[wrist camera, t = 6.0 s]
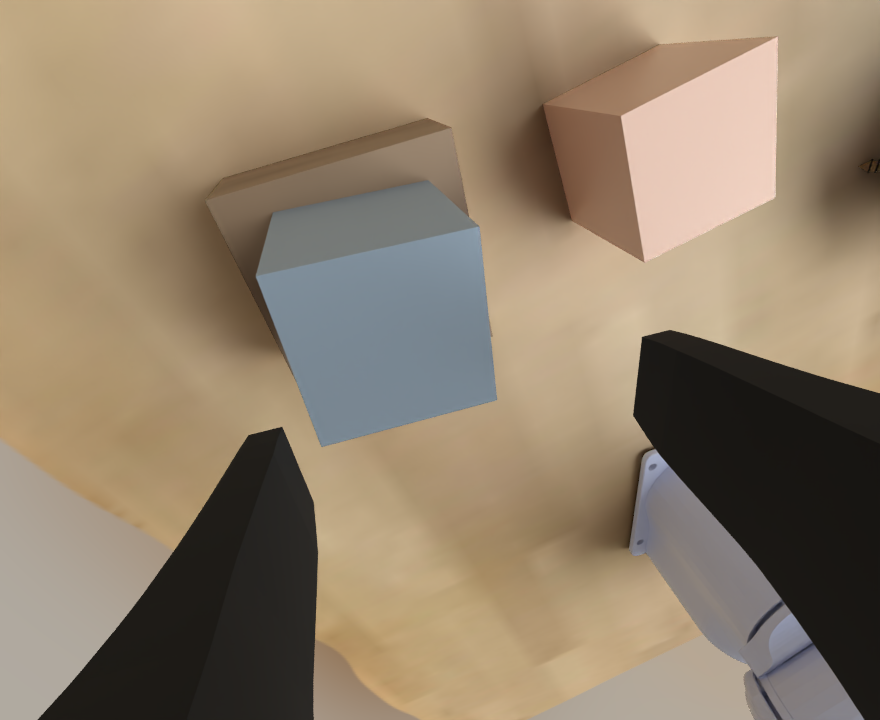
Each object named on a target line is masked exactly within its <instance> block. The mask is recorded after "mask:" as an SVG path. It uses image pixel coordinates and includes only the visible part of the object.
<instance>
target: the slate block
mask: <svg viewBox="0 0 880 720" xmlns="http://www.w3.org/2000/svg"><path fill="white" fill-rule="evenodd" d="M256 278H257V281H258V283H259V286H260V289H261V291H262V294H263V296H264V299H265V302H266V304H267V307H268V309H269V312H270V315H271V317H272V320H273V322H274V325H275V328H276V330H277V333H278V335H279V338H280V340H281V343H282V346H283V348H284V351H285V353H286V356H287V359H288V361H289V364H290V366H291V369H292V372H293V374H294V377H295V379H296V382H297V385H298V387H299V390H300V392H301V395H302V398H303V400H304V403H305V405H306V408H307V411H308V413H309V416H310V418H311V421H312V423H313V426H314V429H315V431H316V434H317V436H318V439H319V442H320V444H321V447H324V446H327V445H331V444H335V443H339V442H342V441H346V440H350V439H354V438H357V437H361V436H365V435H368V434H372V433H376V432H380V431H383V430H387V429H391V428H395V427H398V426H402V425H406V424H410V423H413V422H417V421H421V420H424V419H428V418H432V417H436V416H439V415H443V414H447V413H451V412H454V411H458V410H462V409H466V408H469V407H473V406H477V405H480V404H484V403H488V402H492V401H495V400H497V395H496V385H495V375H494V365H493V355H492V346H491V336H490V326H489V316H488V306H487V296H486V287H485V277H484V267H483V257H482V247H481V238H480V228H479V226H478V225H477V224H476V223H475V222H474V221H473V220H472V219H471V218H469V217H468V216H467V215H466V214H465V213H464V212H463V211H462V210H461V209H460V208H458V207H457V206H456V205H455V204H454V203H453V202H452V201H451V200H450V199H449V198H447V197H446V196H445V195H444V194H443V193H442V192H441V191H440V190H439V189H438V188H436V187H435V186H434V185H433V184H432V183H431V182H430V181H429V180H426V181H422V182H417V183H412V184H407V185H402V186H397V187H393V188H388V189H383V190H378V191H373V192H369V193H364V194H359V195H354V196H349V197H344V198H340V199H335V200H330V201H325V202H320V203H316V204H311V205H306V206H301V207H296V208H291V209H287V210H282V211H277V212H273V214H272V218H271V221H270V225H269V229H268V233H267V236H266V240H265V244H264V247H263V251H262V255H261V258H260V262H259V266H258V270H257V273H256Z"/></svg>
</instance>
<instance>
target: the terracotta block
mask: <svg viewBox="0 0 880 720" xmlns="http://www.w3.org/2000/svg"><path fill="white" fill-rule="evenodd" d="M777 68H778V36H776V37H761V38H746V39H732V40H717V41H703V42H688V43H673V44H660V45H658V46H656V47H654V48H652V49H650V50H648V51H646V52H644V53H642V54H640V55H638V56H636V57H634V58H632V59H630V60H628V61H626V62H624V63H623V64H621V65H619V66H617V67H615V68H613V69H611V70H609V71H607V72H605V73H603V74H601V75H599V76H597V77H595V78H593V79H591V80H589V81H587V82H585V83H583V84H581V85H579V86H577V87H575V88H573V89H571V90H569V91H567V92H566V93H564V94H562V95H560V96H558V97H556V98H554V99H552V100H550V101H548V102H546V103H544V104H543V107H544V111H545V115H546V119H547V123H548V127H549V131H550V135H551V139H552V143H553V147H554V151H555V155H556V159H557V163H558V167H559V171H560V175H561V179H562V183H563V187H564V191H565V195H566V199H567V203H568V207H569V211H570V215H571V219H572V221H573V222H575V223H577V224H579V225H580V226H582V227H584V228H585V229H587V230H589V231H591V232H592V233H594V234H596V235H598V236H599V237H601V238H603V239H605V240H606V241H608V242H610V243H612V244H613V245H615V246H617V247H618V248H620V249H622V250H624V251H625V252H627V253H629V254H631V255H632V256H634V257H636V258H638V259H639V260H641V261H643V262H647V261H649V260H651V259H653V258H655V257H657V256H659V255H661V254H663V253H665V252H667V251H669V250H671V249H673V248H675V247H677V246H679V245H681V244H683V243H685V242H687V241H689V240H691V239H693V238H695V237H697V236H699V235H701V234H703V233H705V232H707V231H709V230H711V229H713V228H715V227H717V226H719V225H721V224H723V223H725V222H727V221H729V220H731V219H733V218H735V217H737V216H739V215H741V214H743V213H745V212H747V211H749V210H751V209H753V208H755V207H758V206H760V205H762V204H764V203H766V202H768V201H770V200H772V199H774V198H775V183H776V125H777Z"/></svg>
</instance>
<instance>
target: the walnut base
mask: <svg viewBox="0 0 880 720" xmlns="http://www.w3.org/2000/svg"><path fill="white" fill-rule="evenodd" d="M426 180H429V181H430V182H431V183H432V184H433V185H434V186H435V187H436V188H438V189H439V190H440V191H441V192H442V193H443V194H444V195H445V196H446V197H447V198H449V199H450V200H451V201H452V202H453V203H454V204H455V205H456V206H457V207H458V208H460V209H461V210H462V211H463V212H464V213H465V214H466V215H467V216H468V217H469V214H468V209H467V204H466V199H465V194H464V189H463V184H462V179H461V174H460V169H459V164H458V159H457V153H456V148H455V143H454V138H453V133H452V128H451V127H448V126H446V125H443V124H441V123H438V122H436V121H433V120H431V119H428V118H427V119H423V120H420V121H416V122H413V123H410V124H406V125H403V126H399V127H396V128H393V129H389V130H386V131H382V132H379V133H376V134H372V135H369V136H365V137H362V138H358V139H355V140H352V141H348V142H345V143H341V144H338V145H335V146H331V147H328V148H324V149H321V150H317V151H314V152H311V153H307V154H304V155H300V156H297V157H294V158H290V159H287V160H283V161H280V162H277V163H273V164H270V165H266V166H263V167H259V168H256V169H253V170H249V171H246V172H242V173H239V174H236V175H232V176H229V177H225V178H223V179H222V180H221V181H220V182H219V184H218V185H217V186H216V187H215V189H214V190H213V191H212V192H211V194H210V195H209V196H208V197H207V198H206V200H205V202H206V204H207V206H208V208H209V210H210V212H211V214H212V216H213V218H214V220H215V222H216V224H217V226H218V228H219V230H220V232H221V234H222V236H223V238H224V240H225V242H226V244H227V246H228V248H229V250H230V251H231V253H232V255H233V257H234V259H235V261H236V263H237V265H238V267H239V269H240V271H241V273H242V275H243V277H244V279H245V281H246V283H247V285H248V287H249V289H250V291H251V293H252V295H253V297H254V299H255V301H256V303H257V305H258V307H259V309H260V311H261V313H262V315H263V317H264V319H265V321H266V323H267V325H268V327H269V329H270V331H271V333H272V335H273V337H274V339H275V341H276V343H277V344H278V346H279V348H280V350H281V352H282V354H283V356H284V358H285V360H286V362H287V364H288V366H289V368H290V370H291V372H292V369H291V366H290V364H289V361H288V359H287V356H286V353H285V351H284V348H283V346H282V343H281V340H280V338H279V335H278V333H277V330H276V328H275V325H274V322H273V320H272V317H271V315H270V312H269V309H268V307H267V304H266V302H265V299H264V296H263V294H262V291H261V289H260V286H259V283H258V281H257V278H256V273H257V270H258V266H259V262H260V258H261V255H262V251H263V247H264V244H265V240H266V236H267V233H268V229H269V225H270V221H271V218H272V214H273V212H277V211H282V210H287V209H291V208H296V207H301V206H306V205H311V204H316V203H320V202H325V201H330V200H335V199H340V198H344V197H349V196H354V195H359V194H364V193H369V192H373V191H378V190H383V189H388V188H393V187H397V186H402V185H407V184H412V183H417V182H422V181H426ZM489 326H490V321H489ZM490 336H491V337H492V331H491V326H490ZM292 374H293V372H292ZM293 376H294V374H293ZM294 378H295V377H294ZM295 380H296V379H295Z"/></svg>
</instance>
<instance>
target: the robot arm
mask: <svg viewBox="0 0 880 720" xmlns="http://www.w3.org/2000/svg"><path fill="white" fill-rule="evenodd" d="M633 416H634V417H635V419H636V421H637V422H638V424H639V425H640V427H641V428H642V430H643V431H644V433H645V435H646V436H647V438H648V439H649V440H650V442H651V443H652V445H653V446H654V448H655V449H654V450H651V451H648V452H647V453H645V454H644V456H643V458H642V463H641V470H640V477H639V484H638V491H637V498H636V505H635V512H634V519H633V525H632V532H631V539H630V546H629V551H630V552H631V554H632V555H633V556H638V555H641V554H644V553H646V554H647V555H648V557H649V558H650V559H651V561H652V562H653V564H654V565H655V567H656V568H657V569H658V571H659V572H660V574H661V575H662V577H663V578H664V579H665V581H666V582H667V584H668V585H669V587H670V588H671V589H672V591H673V592H674V594H675V595H676V597H677V598H678V600H679V601H680V602H681V604H682V605H683V607H684V608H685V610H686V611H687V612H688V614H689V615H690V617H691V618H692V620H693V621H694V622H695V624H696V625H697V627H698V628H699V630H700V631H701V632H702V633H703V635H704V636H705V637H706V638H707V639H708V640H709V641H710V642H712V644H713V645H715V646H716V647H717V648H718V649H720V650H721V651H722V652H724V653H726V654H727V655H729V656H730V657H732V658H734V659H736V660H738V661H740V662H743V663H745V664H748V665H749V667H750V668H751V670H749V671H748V672H746V673H745V675H744V685H745V696H746V701H747V704H748V707H749V709H750V711H751V714H752V716H753V718H754V719H755V720H880V393H876V392H873V391H869V390H866V389H862V388H859V387H855V386H852V385H848V384H845V383H841V382H837V381H834V380H830V379H827V378H824V377H820V376H817V375H814V374H811V373H807V372H804V371H801V370H798V369H794V368H791V367H788V366H785V365H782V364H779V363H776V362H772V361H769V360H766V359H763V358H760V357H757V356H754V355H751V354H748V353H745V352H742V351H739V350H736V349H733V348H730V347H727V346H724V345H720V344H717V343H714V342H711V341H708V340H705V339H701V338H698V337H695V336H691V335H688V334H684V333H680V332H676V331H672V330H668V331H664V332H660V333H656V334H652V335H648V336H644V337H642V343H641V352H640V360H639V369H638V378H637V387H636V395H635V404H634V413H633ZM317 567H318V548H317V534H316V523H315V512H314V502H313V499H312V497H311V495H310V492H309V490H308V487H307V485H306V483H305V480H304V478H303V475H302V473H301V471H300V468H299V466H298V463H297V461H296V459H295V456H294V454H293V451H292V449H291V447H290V444H289V442H288V439H287V437H286V435H285V432H284V430H283V428H282V427H280V428H276V429H272V430H268V431H264V432H260V433H256V434H252V435H248V437H247V438H246V440H245V442H244V443H243V445H242V446H241V448H240V449H239V451H238V452H237V454H236V456H235V457H234V459H233V460H232V462H231V464H230V465H229V467H228V469H227V470H226V472H225V473H224V475H223V477H222V478H221V480H220V481H219V483H218V485H217V486H216V488H215V489H214V491H213V493H212V494H211V496H210V497H209V499H208V501H207V502H206V504H205V505H204V507H203V508H202V510H201V511H200V513H199V514H198V516H197V517H196V519H195V521H194V522H193V524H192V525H191V527H190V528H189V530H188V531H187V533H186V534H185V536H184V537H183V539H182V540H181V542H180V543H179V545H178V546H177V548H176V549H175V550H174V552H173V553H172V555H171V556H170V558H169V559H168V560H167V562H166V563H165V564H164V566H163V567H162V569H161V570H160V571H159V573H158V574H157V576H156V577H155V579H154V580H153V581H152V583H151V584H150V585H149V587H148V588H147V590H146V591H145V592H144V594H143V595H142V596H141V598H140V599H139V600H138V602H137V603H136V604H135V606H134V607H133V608H132V610H131V611H130V612H129V613H128V614H127V616H126V617H125V618H124V620H123V621H122V622H121V623H120V625H119V626H118V627H117V628H116V630H115V631H114V632H113V633H112V634H111V636H110V637H109V638H108V639H107V641H106V642H105V643H104V644H103V645H102V647H101V648H100V649H99V650H98V651H97V653H96V654H95V655H94V656H93V657H92V659H91V660H90V661H89V662H88V664H87V665H86V666H85V667H84V669H83V670H82V671H81V672H80V673H79V674H78V675H77V677H76V678H75V679H74V680H73V681H72V683H70V685H69V686H68V687H67V688H66V689H65V690H64V691H63V692H62V694H61V695H60V696H59V697H58V698H57V699H56V700H55V701H54V702H53V704H52V705H51V706H50V707H49V708H48V709H47V710H46V711H45V712H44V714H43V715H42V716H41V717H40V718H39V719H38V720H314V717H313V673H314V647H315V622H316V597H317Z"/></svg>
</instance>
